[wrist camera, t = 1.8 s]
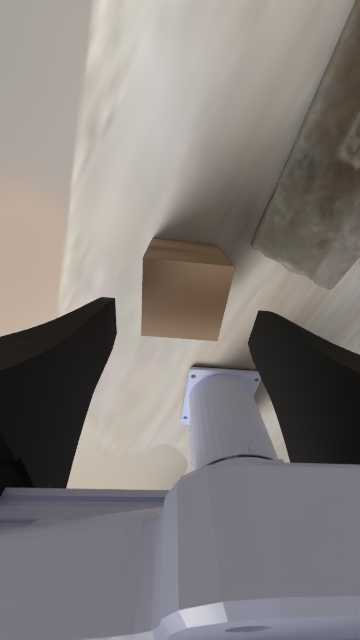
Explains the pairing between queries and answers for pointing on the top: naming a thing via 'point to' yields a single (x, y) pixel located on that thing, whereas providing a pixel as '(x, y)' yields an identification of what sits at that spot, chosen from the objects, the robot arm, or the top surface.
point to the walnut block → (184, 289)
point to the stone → (322, 177)
